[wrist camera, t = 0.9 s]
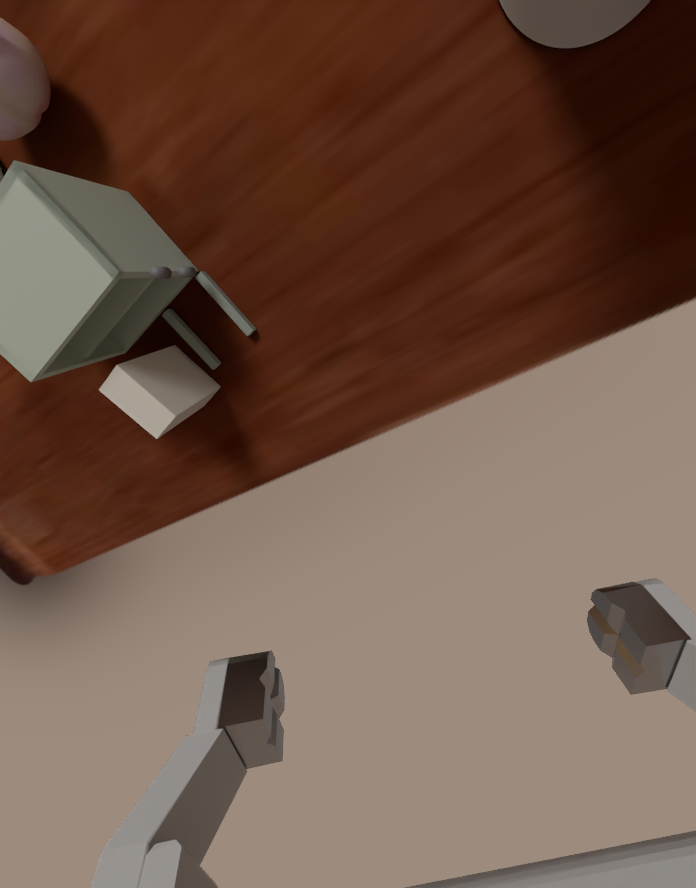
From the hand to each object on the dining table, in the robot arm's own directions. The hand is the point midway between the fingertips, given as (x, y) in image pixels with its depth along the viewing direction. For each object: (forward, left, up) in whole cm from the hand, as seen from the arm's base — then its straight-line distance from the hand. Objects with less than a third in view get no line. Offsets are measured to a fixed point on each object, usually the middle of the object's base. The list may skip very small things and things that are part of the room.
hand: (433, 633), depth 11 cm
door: (+7, -25, -39) cm, 47 cm away
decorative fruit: (-19, -41, -39) cm, 60 cm away
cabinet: (-1, -29, -39) cm, 49 cm away
